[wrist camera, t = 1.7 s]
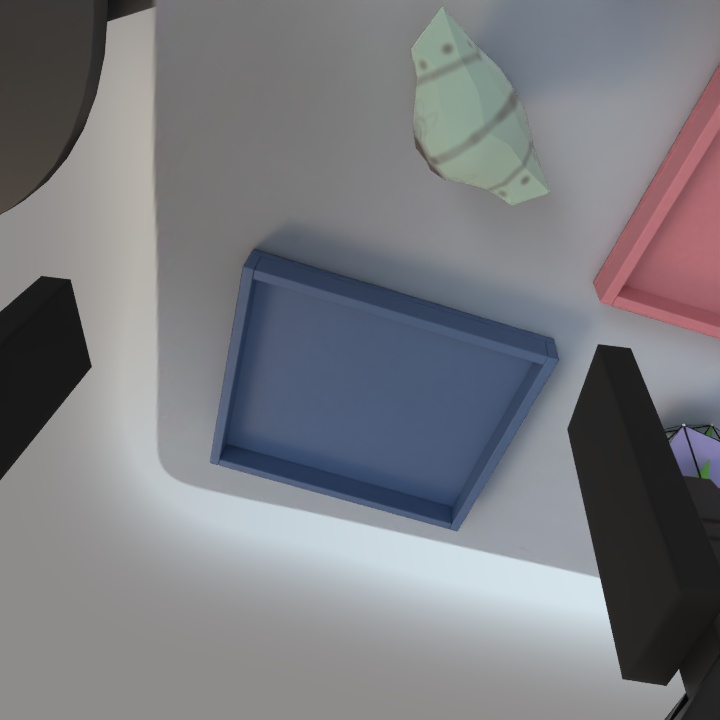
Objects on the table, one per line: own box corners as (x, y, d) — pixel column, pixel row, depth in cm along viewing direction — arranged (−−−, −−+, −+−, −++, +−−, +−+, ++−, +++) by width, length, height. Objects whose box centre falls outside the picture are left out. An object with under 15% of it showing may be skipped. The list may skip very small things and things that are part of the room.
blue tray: (218, 442, 42) (209, 463, 40) (253, 248, 33) (242, 266, 31) (457, 508, 43) (457, 531, 41) (554, 339, 34) (559, 360, 32)
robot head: (550, 146, 28) (574, 202, 23) (472, 195, 30) (476, 257, 24) (458, -20, 25) (460, -1, 19) (376, 46, 26) (356, 80, 21)
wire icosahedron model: (572, 488, 37) (679, 600, 32) (623, 406, 33) (754, 519, 28) (645, 458, 41) (751, 555, 36) (699, 381, 37) (828, 477, 32)
